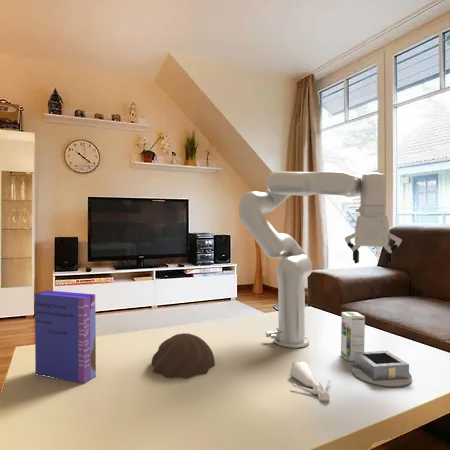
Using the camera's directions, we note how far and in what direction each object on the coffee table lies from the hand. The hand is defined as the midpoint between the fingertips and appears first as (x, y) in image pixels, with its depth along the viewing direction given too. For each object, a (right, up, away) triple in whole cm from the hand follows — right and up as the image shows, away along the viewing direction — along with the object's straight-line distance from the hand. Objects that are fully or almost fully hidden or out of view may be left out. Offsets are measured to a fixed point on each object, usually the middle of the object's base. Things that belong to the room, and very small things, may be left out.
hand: (371, 264), depth 116 cm
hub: (-2, -31, -12) cm, 33 cm away
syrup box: (-6, -31, 0) cm, 32 cm away
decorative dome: (-61, -31, -5) cm, 69 cm away
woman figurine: (-25, -32, -19) cm, 44 cm away
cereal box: (-94, -31, -13) cm, 100 cm away
